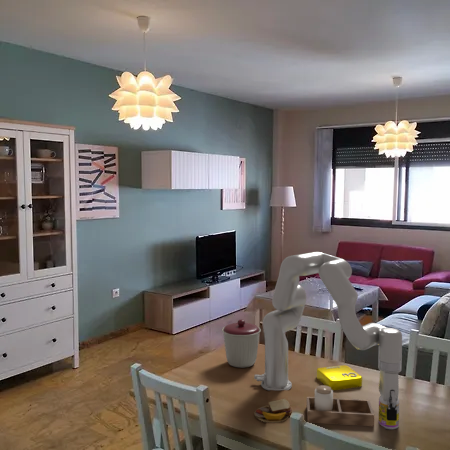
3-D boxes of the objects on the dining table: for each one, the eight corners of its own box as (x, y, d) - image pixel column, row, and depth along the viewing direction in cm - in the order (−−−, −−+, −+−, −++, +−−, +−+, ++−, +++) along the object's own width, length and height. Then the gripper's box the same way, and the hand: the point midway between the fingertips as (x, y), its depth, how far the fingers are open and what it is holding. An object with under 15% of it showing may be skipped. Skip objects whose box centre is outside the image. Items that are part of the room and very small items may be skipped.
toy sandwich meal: (253, 408, 181) (253, 396, 181) (289, 408, 181) (289, 396, 181) (255, 425, 169) (255, 412, 168) (294, 425, 169) (294, 412, 168)
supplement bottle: (375, 421, 170) (376, 385, 169) (393, 420, 171) (394, 385, 170) (383, 430, 164) (383, 394, 163) (402, 429, 164) (402, 393, 163)
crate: (307, 424, 168) (307, 411, 168) (306, 409, 180) (306, 396, 179) (374, 428, 165) (374, 414, 165) (368, 412, 177) (368, 400, 176)
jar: (314, 419, 171) (315, 391, 170) (314, 410, 177) (314, 384, 176) (333, 420, 170) (333, 392, 169) (331, 411, 176) (332, 385, 175)
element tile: (346, 374, 214) (346, 363, 214) (363, 387, 200) (364, 376, 199) (314, 377, 210) (315, 366, 210) (330, 391, 196) (330, 380, 196)
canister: (220, 357, 234) (219, 315, 232) (257, 356, 236) (257, 313, 234) (224, 372, 216) (224, 326, 214) (264, 370, 218) (264, 324, 216)
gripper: (374, 355, 175) (373, 401, 176) (383, 374, 158) (382, 425, 159) (395, 356, 174) (394, 403, 175) (407, 375, 157) (406, 426, 158)
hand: (388, 413), depth 167 cm, fingers open, 8 cm apart
